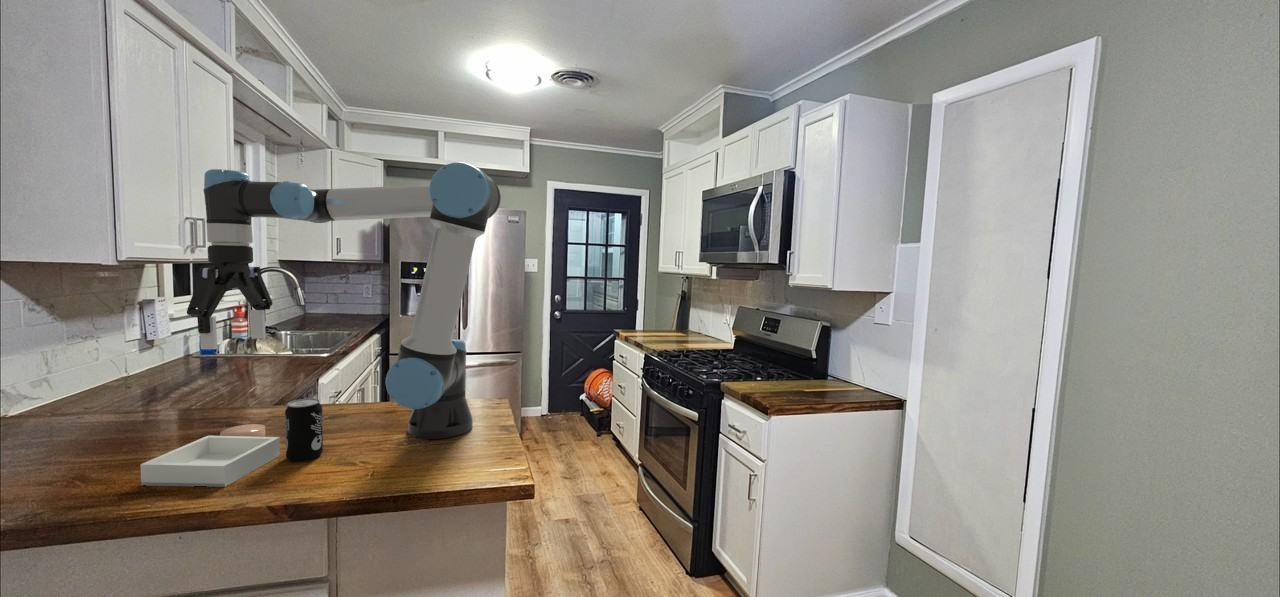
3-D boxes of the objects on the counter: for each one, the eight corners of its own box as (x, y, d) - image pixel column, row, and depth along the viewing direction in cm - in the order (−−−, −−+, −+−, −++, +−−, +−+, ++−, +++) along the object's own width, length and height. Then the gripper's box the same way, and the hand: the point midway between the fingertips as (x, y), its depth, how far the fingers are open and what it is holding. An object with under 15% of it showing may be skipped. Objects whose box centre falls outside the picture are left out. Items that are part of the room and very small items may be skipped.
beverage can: (304, 464, 104) (303, 407, 103) (278, 461, 105) (276, 405, 104) (330, 452, 110) (329, 399, 109) (304, 449, 112) (303, 396, 111)
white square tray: (280, 455, 108) (279, 437, 108) (224, 487, 93) (224, 466, 93) (208, 453, 108) (207, 435, 107) (141, 485, 93) (140, 464, 92)
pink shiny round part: (273, 437, 118) (273, 424, 118) (248, 450, 110) (248, 436, 110) (238, 436, 118) (238, 423, 118) (210, 449, 110) (210, 435, 110)
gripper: (256, 245, 119) (260, 334, 121) (157, 242, 95) (164, 354, 96) (288, 246, 120) (291, 334, 121) (198, 243, 95) (204, 354, 96)
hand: (235, 343), depth 109 cm, fingers open, 13 cm apart
